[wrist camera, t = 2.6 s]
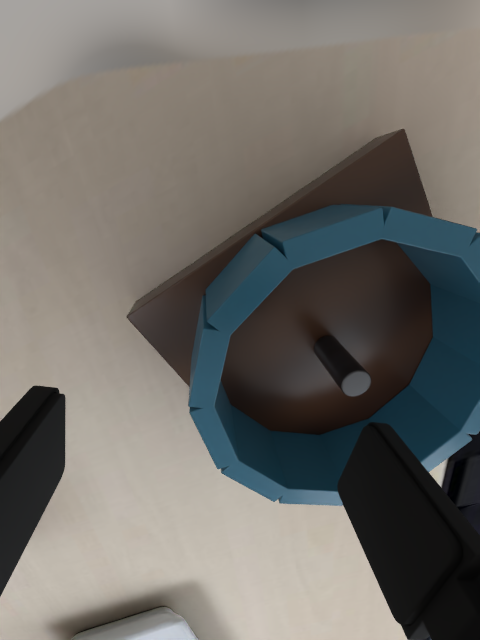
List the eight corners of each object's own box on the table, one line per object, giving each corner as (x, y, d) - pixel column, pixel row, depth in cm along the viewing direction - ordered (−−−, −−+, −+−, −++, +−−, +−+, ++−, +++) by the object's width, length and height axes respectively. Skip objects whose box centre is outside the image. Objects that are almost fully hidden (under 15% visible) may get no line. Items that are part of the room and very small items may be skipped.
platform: (135, 302, 18) (103, 352, 13) (376, 137, 16) (475, 103, 11) (269, 457, 25) (290, 539, 19) (454, 353, 23) (542, 407, 17)
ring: (130, 317, 16) (105, 358, 12) (402, 133, 14) (484, 107, 10) (277, 481, 23) (294, 545, 18) (479, 369, 21) (548, 412, 17)
